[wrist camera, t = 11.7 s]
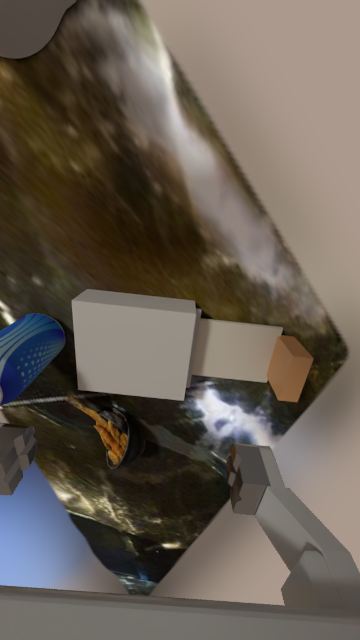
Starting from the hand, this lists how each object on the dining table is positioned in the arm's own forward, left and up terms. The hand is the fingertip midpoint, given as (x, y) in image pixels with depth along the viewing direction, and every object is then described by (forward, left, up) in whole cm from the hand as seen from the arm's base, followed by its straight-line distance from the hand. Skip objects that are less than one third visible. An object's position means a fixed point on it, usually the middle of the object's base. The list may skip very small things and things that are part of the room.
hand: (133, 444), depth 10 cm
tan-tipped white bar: (+12, +10, -30) cm, 34 cm away
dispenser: (+12, -5, -32) cm, 34 cm away
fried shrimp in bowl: (+31, -10, -32) cm, 45 cm away
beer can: (+13, -22, -32) cm, 41 cm away
